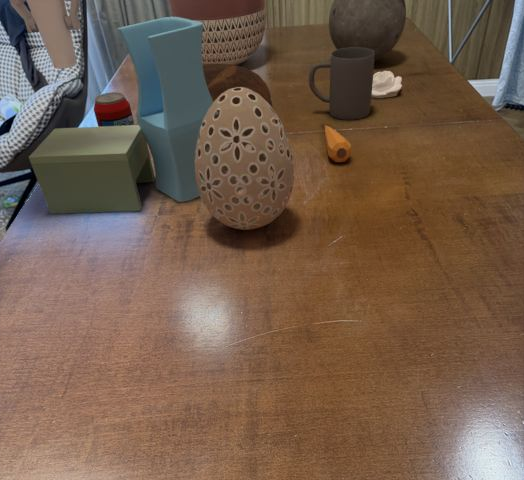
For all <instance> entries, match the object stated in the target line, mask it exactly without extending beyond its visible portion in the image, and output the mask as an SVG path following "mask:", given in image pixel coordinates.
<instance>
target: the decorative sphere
mask: <svg viewBox="0 0 524 480" xmlns="http://www.w3.org/2000/svg"><path fill="white" fill-rule="evenodd" d="M329 9H330V10H329V15H328V30H329V36H330V39H331V42H332V43H333V46H334V47H335V50H337V49H341V48H348V47H363V48H369V49H371V50H373V51H374V62H377V61H378V60H380V59H382V58H383V57H385V56H386V55H388V54H389V53H390V52H391V51H392V50H393V49H394V48H395V46H396V45H397V44H398V42H399V40H400V39H401V36H402V34H403V32H404V29H405V25H406V19H407V6H406V1H405V0H333V1H332V3H331V6H330V8H329Z"/></svg>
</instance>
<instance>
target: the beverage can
mask: <svg viewBox="0 0 524 480" xmlns="http://www.w3.org/2000/svg"><path fill="white" fill-rule="evenodd" d="M93 113H94V116H95V119H96V123H97V127H103V126H126V125H136V124H135V120H134V117H133V111H132V108H131V103H130V102H129V101H128V100H127V98H126V97H125V94H124V93H122V92H116V91H115V92H113V91H111V92H106V93H102V94H98V95H97V96H96V97H95V98H94V105H93Z"/></svg>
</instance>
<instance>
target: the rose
mask: <svg viewBox="0 0 524 480" xmlns="http://www.w3.org/2000/svg"><path fill="white" fill-rule="evenodd" d="M402 81H403V79H402V76H401V75H397V76H395V75H394V73H393V72H392V71H390V70H383V71H377V72H375V73H373V85H372V96H371V99H385V98H391V97H392V98H393V97H396V96H398V93H399V92H400V91H401V89H402V87H403V84H402Z"/></svg>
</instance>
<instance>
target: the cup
mask: <svg viewBox="0 0 524 480" xmlns="http://www.w3.org/2000/svg"><path fill="white" fill-rule="evenodd" d="M25 2H26V4H27V5H28V8H29V11H30V13H31V14H32V15H33V18H34V20H35V23H36V25H37V28H38V30H39V32H38V33H39V35H40V37H41V40H42V43H43V44H44V47H45V49H46V52H47V54H48V56H49V59H50V61H51V63H52V66H53V68H54V69H55V70H56V69H58V70H62V69H68V68H69V69H70V68H73V67H75V66H77V65H78V62H77V56H76V53H75V47H74V41H73V36H72V30H68V29H67V26H66V25H67V23H66V22H65V19H64V16H65V15H67V14H68V11H67V5H66V1H65V0H26V1H25Z"/></svg>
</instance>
